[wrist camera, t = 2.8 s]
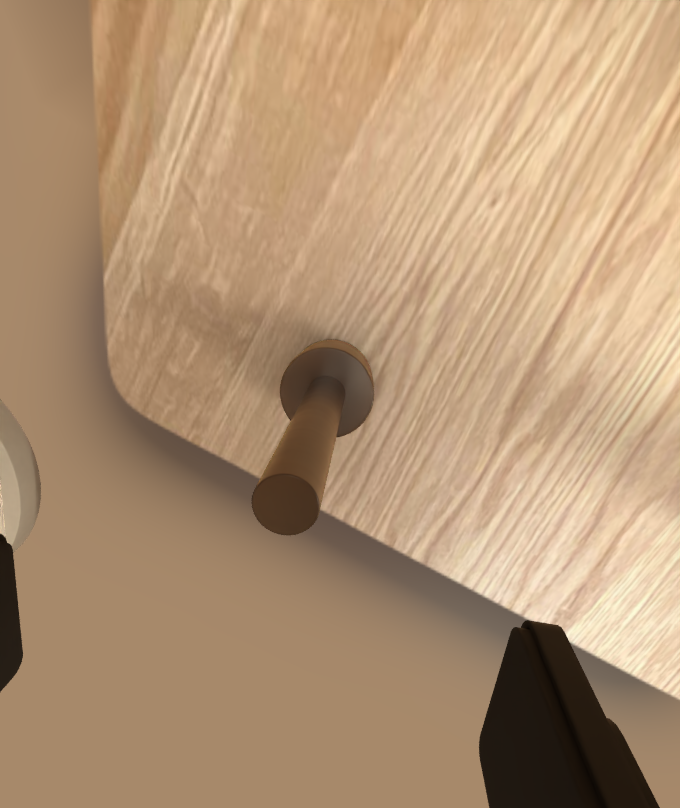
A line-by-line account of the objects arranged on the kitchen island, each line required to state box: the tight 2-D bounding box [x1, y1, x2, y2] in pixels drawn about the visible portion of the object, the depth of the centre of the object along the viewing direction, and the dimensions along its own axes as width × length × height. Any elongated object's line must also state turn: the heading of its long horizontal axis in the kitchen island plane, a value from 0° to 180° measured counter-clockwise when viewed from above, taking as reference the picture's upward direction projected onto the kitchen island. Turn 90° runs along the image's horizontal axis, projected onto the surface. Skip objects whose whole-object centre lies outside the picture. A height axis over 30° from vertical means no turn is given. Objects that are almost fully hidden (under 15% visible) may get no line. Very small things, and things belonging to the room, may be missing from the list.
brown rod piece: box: [252, 340, 374, 535], centre depth 21 cm, size 5×5×15 cm
